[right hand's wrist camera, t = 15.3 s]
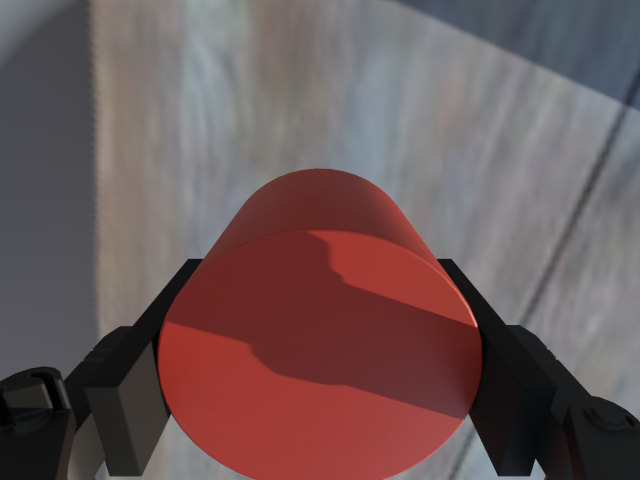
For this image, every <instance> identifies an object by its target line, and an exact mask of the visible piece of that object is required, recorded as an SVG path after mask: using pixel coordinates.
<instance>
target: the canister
mask: <svg viewBox="0 0 640 480" xmlns="http://www.w3.org/2000/svg"><path fill="white" fill-rule="evenodd" d="M482 365H483V353H482V342H481V337H480V333H479V329H478V325H477V322H476V320H475V318H474V315H473V313H472V311H471V309H470V306H469V305H468V303H467V302H466V300H465V299H464V297H463V295H462V294H461V292H460V291H459V289H458V288H457V287H456V285H455V284H454V283H453V281H452V280H451V278H450V277H449V276H448V274H447V273H446V272H445V270H444V269H443V268H442V266H441V265H440V263H439V262H438V261H437V259H436V258H435V257H434V255H433V254H432V253H431V251H430V250H429V249H428V247H427V246H426V244H425V243H424V242H423V240H422V239H421V238H420V236H419V235H418V234H417V232H416V231H415V229H414V228H413V227H412V225H411V224H410V223H409V221H408V220H407V219H406V217H405V216H404V214H403V213H402V212H401V210H400V209H399V208H398V206H397V205H396V204H395V203H394V202H393V200H392V199H391V198H390V197H389V196H388V195H387V194H386V193H385V192H383V191H382V190H381V189H380V188H379V187H377V186H375V185H374V184H372V183H371V182H369V181H367V180H365V179H363V178H361V177H359V176H357V175H354V174H350V173H347V172H344V171H338V170H332V169H308V170H301V171H297V172H292V173H289V174H286V175H284V176H281V177H278V178H276V179H274V180H273V181H271V182H269V183H267V184H266V185H264V186H263V187H262V188H260V189H259V190H257V191H256V192H255V193H254V194H253V195H252V196H251V197H250V198H249V199H248V200H247V201H246V202H245V204H244V205H243V206H242V208H241V209H240V210H239V212H238V213H237V214H236V216H235V217H234V218H233V220H232V221H231V222H230V224H229V225H228V227H227V228H226V229H225V231H224V232H223V233H222V235H221V236H220V237H219V239H218V240H217V242H216V243H215V244H214V246H213V247H212V248H211V250H210V251H209V252H208V254H207V255H206V257H205V258H204V259H203V261H202V262H201V263H200V265H199V266H198V267H197V269H196V270H195V272H194V273H193V274H192V276H191V277H190V278H189V280H188V281H187V282H186V284H185V285H184V287H183V288H182V289H181V291H180V292H179V293H178V295H177V296H176V297H175V299H174V301H173V303H172V305H171V307H170V308H169V310H168V312H167V314H166V317H165V319H164V322H163V325H162V328H161V331H160V336H159V342H158V348H157V370H158V376H159V382H160V387H161V390H162V393H163V396H164V399H165V402H166V404H167V406H168V408H169V410H170V412H171V414H172V416H173V417H174V419H175V420H176V422H177V423H178V424H179V426H180V427H181V429H182V430H183V431H184V432H185V433H186V435H187V436H188V437H189V438H190V439H191V440H192V441H193V442H194V443H195V444H196V445H197V446H198V447H199V448H201V449H202V450H203V451H204V452H205V453H206V454H208V455H209V456H211V457H212V458H214V459H215V460H217V461H218V462H219V463H221V464H223V465H225V466H226V467H228V468H230V469H232V470H234V471H236V472H238V473H240V474H243V475H245V476H247V477H250V478H252V479H255V480H384V479H387V478H390V477H393V476H395V475H397V474H399V473H401V472H404V471H406V470H408V469H410V468H412V467H413V466H415V465H417V464H418V463H420V462H422V461H423V460H425V459H426V458H428V457H429V456H430V455H432V454H433V453H434V452H436V451H437V450H438V449H439V448H440V447H441V446H443V445H444V444H445V443H446V442H447V441H448V440H449V439H450V438H451V437H452V436H453V434H454V433H455V432H456V431H457V429H458V428H459V427H460V426H461V424H462V423H463V421H464V420H465V418H466V416H467V415H468V413H469V411H470V410H471V408H472V405H473V403H474V400H475V398H476V396H477V393H478V389H479V385H480V381H481V377H482Z"/></svg>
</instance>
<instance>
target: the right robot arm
mask: <svg viewBox="0 0 640 480" xmlns="http://www.w3.org/2000/svg"><path fill="white" fill-rule="evenodd" d="M202 261H203V259H188V260H187V261H186V262H185V264H184V265H183V266H182V267H181V268H180V270H179V271H178V272H177V273H176V274H175V276H174V277H173V278H172V279H171V280H170V282H169V283H168V284H167V285H166V286H165V288H164V289H163V290H162V291H161V293H160V294H159V295H158V296H157V297H156V299H155V300H154V301H153V302H152V303H151V305H150V306H149V307H148V308H147V309H146V311H145V312H144V313H143V314H142V315H141V317H140V318H139V319H138V320H137V321H136V323H135V324H134V325H133V326H120V327H118V328H117V329H115V330H114V331H112V332H111V333H109V334H107V335H106V336H104V337H103V338H102V340H101V341H100V342H99V343H98V344H97V345H96V346H95V347H94V348H93V351H91V352H90V353H89V354H88V355H87V356H86V357H85V358H84V361H82V362H81V363H80V364H79V365H78V366H77V367H76V368H75V369H74V370H73V371H72V372H71V374H70V375H69V376H68V377H67V378H66V379H65V380H64V381H63V379H62V376H61V372H60V371H58V370H57V369H56V368H53V367H38V368H31V369H28V370H24V371H21V372H18V373H16V374H14V375H12V376H10V377H8V378H6V379H4V380H2V381H0V480H96V479H95V474H96V473H97V471H98V469H99V468H100V466H101V464H102V463H103V461H104V460H105V463H106V466H107V469H108V472H109V476H142V474H143V472H144V470H145V468H146V466H147V464H148V462H149V459H150V457H151V455H152V453H153V451H154V449H155V447H156V445H157V443H158V440H159V438H160V436H161V434H162V432H163V430H164V428H165V426H166V424H167V421H168V419H169V417H170V415H171V412H170V410H169V408H168V406H167V404H166V402H165V399H164V396H163V393H162V390H161V387H160V382H159V376H158V370H157V348H158V342H159V336H160V331H161V328H162V325H163V322H164V319H165V317H166V314H167V312H168V310H169V308H170V307H171V305H172V303H173V301H174V299H175V297H176V296H177V295H178V293H179V292H180V291H181V289H182V288H183V287H184V285H185V284H186V282H187V281H188V280H189V278H190V277H191V276H192V274H193V273H194V272H195V270H196V269H197V267H198V266H199V265H200V263H201V262H202ZM437 261H438V262H439V263H440V265H441V266H442V268H443V269H444V270H445V272H446V273H447V274H448V276H449V277H450V278H451V280H452V281H453V283H454V284H455V285H456V287H457V288H458V289H459V291H460V292H461V294H462V295H463V297H464V299H465V300H466V302H467V303H468V305H469V306H470V309H471V311H472V313H473V315H474V318H475V320H476V322H477V325H478V329H479V333H480V337H481V342H482V353H483V365H482V377H481V381H480V385H479V389H478V393H477V396H476V398H475V400H474V403H473V405H472V408H471V410H470V411H469V413H468V414H469V416H470V418H471V420H472V422H473V424H474V426H475V428H476V430H477V433H478V435H479V437H480V439H481V441H482V443H483V445H484V447H485V449H486V452H487V454H488V456H489V458H490V460H491V462H492V464H493V466H494V468H495V471H496V473H497V475H498V476H530V475H531V471H532V468H533V465H534V462H535V458H536V460H537V461H538V463H539V465H540V466H541V468H542V470H543V471H544V473H545V475H546V476H545V479H544V480H640V422H639V420H638V419H637V418H635V417H634V416H633V415H632V414H631V413H629V412H628V411H627V410H625V409H624V408H622V407H620V406H619V405H617V404H615V403H613V402H611V401H608V400H605V399H603V398H600V397H595V396H591V395H590V394H589V393H588V392H587V391H586V390H585V388H584V387H583V386H582V385H581V384H580V383H579V382H578V381H577V380H576V379H575V378H574V376H573V375H572V374H571V373H570V372H569V371H568V370H567V369H566V368H565V367H564V366H563V364H562V363H561V362H560V361H559V360H556V357H555V356H554V355H553V354H552V352H551V351H550V350H547V347H546V346H545V345H544V344H543V343H542V342H541V341H540V339H539V338H538V337H537V336H536V335H534V334H533V333H531V332H530V331H528V330H527V329H525V328H523V327H522V326H520V325H506V324H505V323H504V322H503V321H502V319H501V318H500V317H499V316H498V315H497V313H496V312H495V311H494V310H493V309H492V307H491V306H490V305H489V304H488V302H487V301H486V300H485V299H484V298H483V296H482V295H481V294H480V293H479V292H478V290H477V289H476V288H475V287H474V286H473V284H472V283H471V282H470V281H469V280H468V278H467V277H466V276H465V275H464V274H463V272H462V271H461V270H460V269H459V267H458V266H457V265H456V264H455V263H454V261H453V260H452V259H437Z"/></svg>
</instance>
